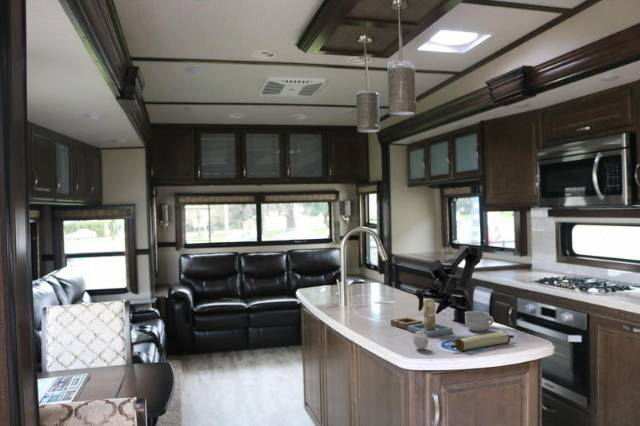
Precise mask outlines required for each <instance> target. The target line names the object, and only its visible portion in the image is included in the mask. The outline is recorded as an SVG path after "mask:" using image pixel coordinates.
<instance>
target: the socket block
mask: <svg viewBox="0 0 640 426" xmlns="http://www.w3.org/2000/svg"><path fill="white" fill-rule="evenodd" d="M422 323H424V320H419V319H417V318H416V319H415V318H412V317H408V316H407V317H401V318H395V319H390V326H394V327H397V328H399V329H403V330H408V326H411V325H417V324H422Z"/></svg>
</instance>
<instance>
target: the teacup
mask: <svg viewBox="0 0 640 426" xmlns="http://www.w3.org/2000/svg"><path fill="white" fill-rule="evenodd" d="M464 324H465V326H466V327H467V328H468V330H470V331H473V332H484V331H486V330H487V329H488V328H489V327H490V326H492V325H493V324H494V318H493V316H491V315H490V313H489V312H484V311H477V310H476V311H473V310H472V311H471V310H468V312H465V322H464Z"/></svg>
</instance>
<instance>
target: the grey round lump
mask: <svg viewBox="0 0 640 426" xmlns="http://www.w3.org/2000/svg"><path fill="white" fill-rule="evenodd" d="M412 342H413V344H414V346H415V348H416V349H418V350H420V351H422V350H426V349H427V347H428V344H429V338H428V337H427V336H426V334H425V333H424V332H423V331H418V332H416V333H414V335H413V339H412Z"/></svg>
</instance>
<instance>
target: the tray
mask: <svg viewBox="0 0 640 426" xmlns="http://www.w3.org/2000/svg"><path fill="white" fill-rule="evenodd" d="M435 328H436V330H434V331H426V330H424V322H423V323H422V324H417V325H411V326H408V329H407V332H411V333H413V334H415V333H416V332H418V331H423V332H424V333H425V334H426V336H427V338H433V337H438V336H443V335H447V334H448V335H449V334H452V333H453V327H450V326H448V325H447V326H446V325H443V324H439V323H436V322H435Z"/></svg>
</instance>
